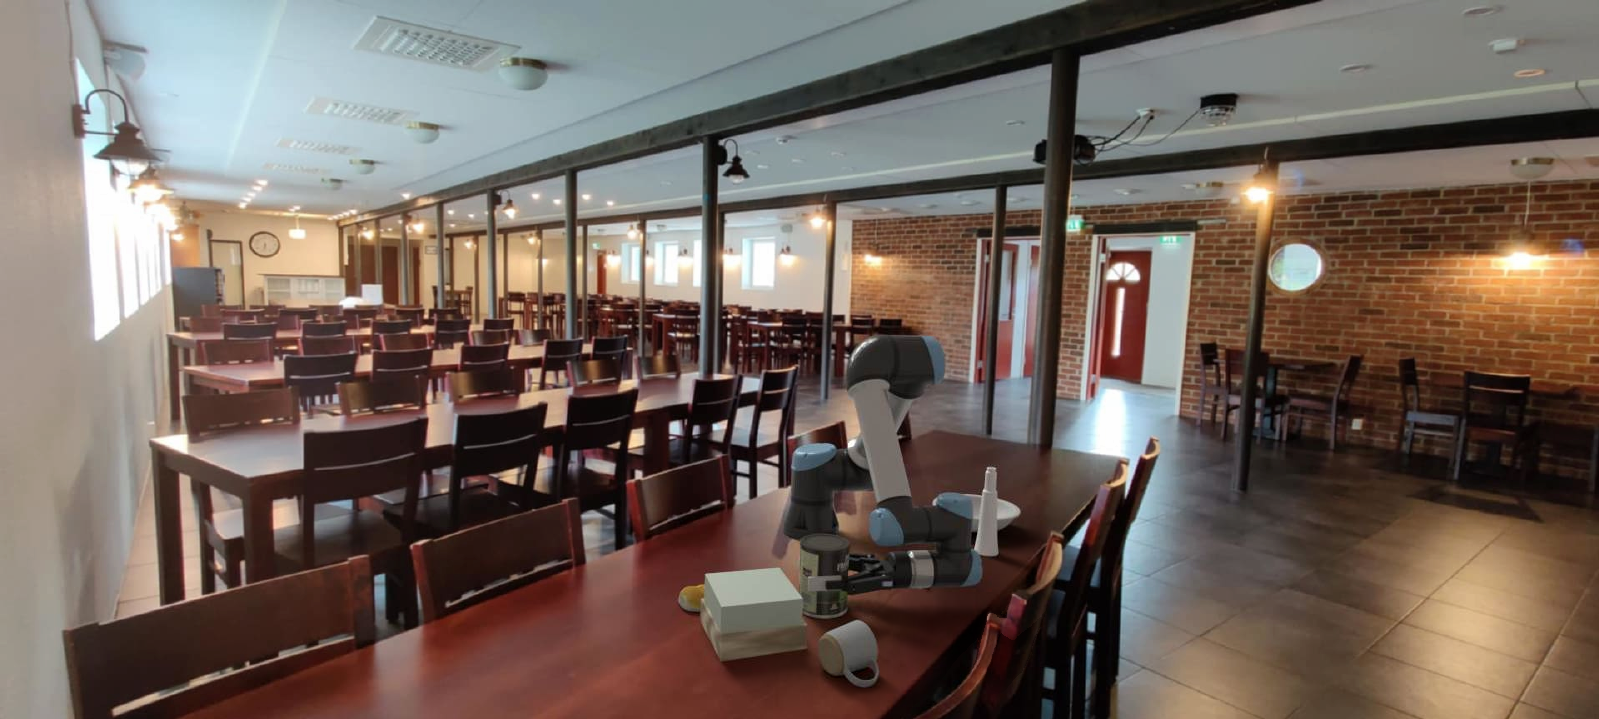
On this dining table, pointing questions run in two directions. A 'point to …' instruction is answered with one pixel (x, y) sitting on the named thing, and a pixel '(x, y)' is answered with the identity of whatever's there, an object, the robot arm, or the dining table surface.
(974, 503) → the soup bowl
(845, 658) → the ceramic mug
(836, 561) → the coffee can
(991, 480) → the cosmetic bottle
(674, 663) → the dining table surface
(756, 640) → the birch block
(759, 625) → the sage block
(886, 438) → the robot arm
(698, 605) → the bread roll
